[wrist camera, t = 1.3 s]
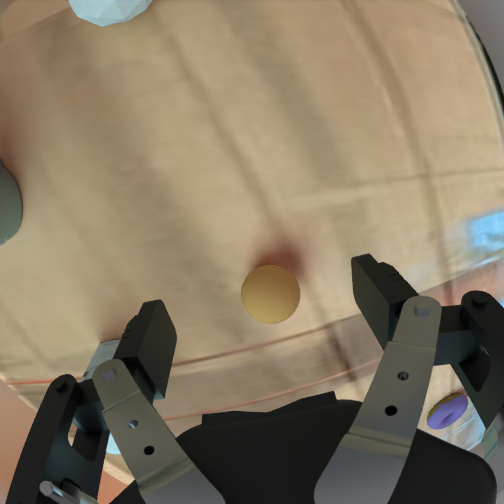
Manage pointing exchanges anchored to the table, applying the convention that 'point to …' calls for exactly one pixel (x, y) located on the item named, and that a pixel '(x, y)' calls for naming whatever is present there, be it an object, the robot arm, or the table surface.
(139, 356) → the robot arm
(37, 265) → the table surface
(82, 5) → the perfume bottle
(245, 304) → the ball
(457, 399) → the donut
